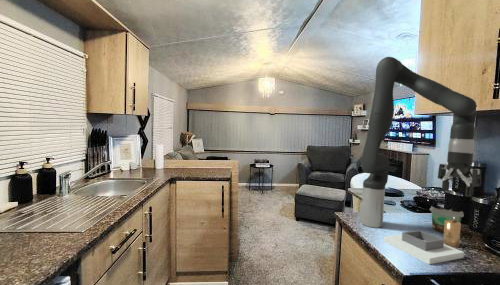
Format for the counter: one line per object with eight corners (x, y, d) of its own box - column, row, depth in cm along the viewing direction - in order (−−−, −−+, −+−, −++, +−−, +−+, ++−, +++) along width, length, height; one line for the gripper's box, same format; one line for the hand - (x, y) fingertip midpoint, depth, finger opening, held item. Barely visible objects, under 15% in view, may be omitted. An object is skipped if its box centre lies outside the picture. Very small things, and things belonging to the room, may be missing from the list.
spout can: (440, 242, 104) (442, 215, 104) (448, 241, 106) (450, 214, 105) (453, 248, 100) (455, 219, 99) (462, 246, 101) (464, 218, 101)
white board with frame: (384, 241, 103) (385, 229, 103) (415, 237, 109) (416, 225, 108) (429, 264, 86) (430, 249, 86) (463, 257, 92) (464, 243, 91)
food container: (428, 230, 117) (430, 208, 117) (428, 226, 122) (430, 205, 122) (464, 237, 110) (465, 214, 110) (462, 233, 115) (464, 210, 115)
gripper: (435, 149, 105) (431, 189, 106) (473, 152, 91) (468, 198, 92) (449, 149, 107) (446, 189, 108) (489, 153, 93) (484, 198, 94)
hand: (456, 193), depth 100 cm, fingers open, 8 cm apart
